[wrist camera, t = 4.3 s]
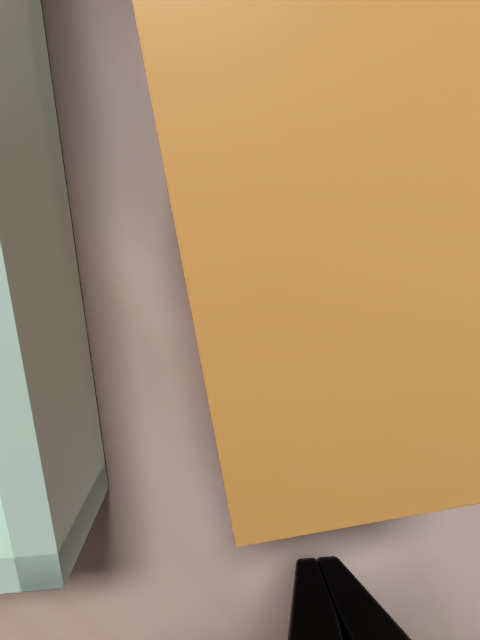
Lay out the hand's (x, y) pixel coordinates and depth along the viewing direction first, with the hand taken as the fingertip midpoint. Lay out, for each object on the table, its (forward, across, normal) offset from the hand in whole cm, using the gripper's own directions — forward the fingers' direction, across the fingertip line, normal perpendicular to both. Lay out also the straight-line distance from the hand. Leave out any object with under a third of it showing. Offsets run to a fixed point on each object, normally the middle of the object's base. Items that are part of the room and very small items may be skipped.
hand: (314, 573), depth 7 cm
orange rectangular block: (+2, 0, -6) cm, 6 cm away
